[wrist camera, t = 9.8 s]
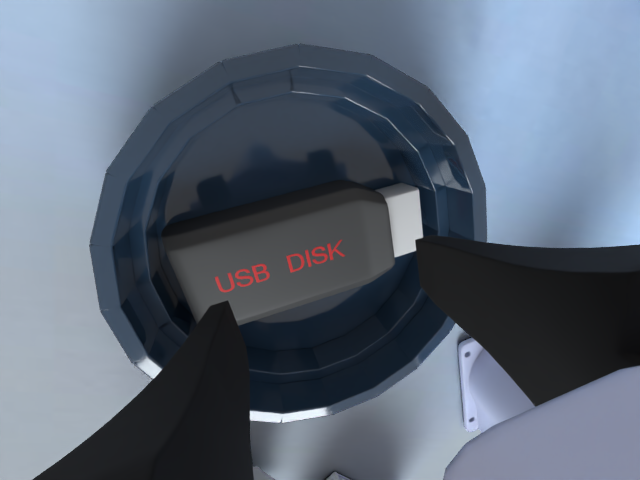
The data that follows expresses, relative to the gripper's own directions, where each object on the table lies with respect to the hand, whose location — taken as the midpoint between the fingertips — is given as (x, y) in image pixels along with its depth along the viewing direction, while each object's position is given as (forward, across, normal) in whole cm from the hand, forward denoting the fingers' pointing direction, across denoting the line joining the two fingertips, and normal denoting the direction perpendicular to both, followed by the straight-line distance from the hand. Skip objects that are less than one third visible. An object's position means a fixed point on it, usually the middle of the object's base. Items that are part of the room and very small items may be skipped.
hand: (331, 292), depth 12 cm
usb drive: (+6, 0, 0) cm, 6 cm away
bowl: (+6, 0, 0) cm, 6 cm away
